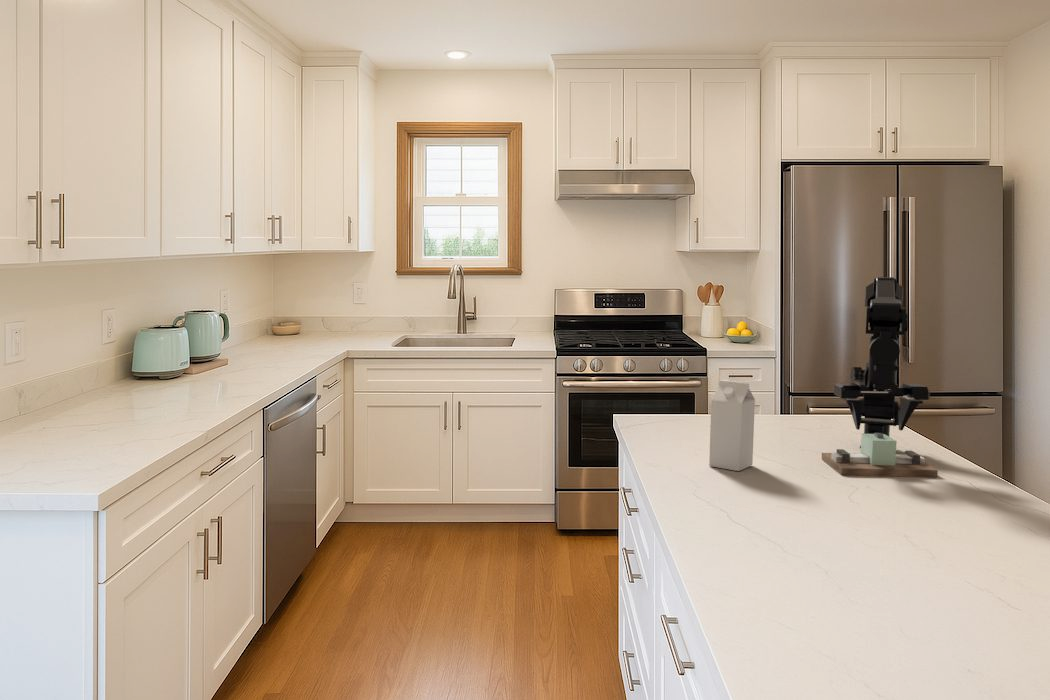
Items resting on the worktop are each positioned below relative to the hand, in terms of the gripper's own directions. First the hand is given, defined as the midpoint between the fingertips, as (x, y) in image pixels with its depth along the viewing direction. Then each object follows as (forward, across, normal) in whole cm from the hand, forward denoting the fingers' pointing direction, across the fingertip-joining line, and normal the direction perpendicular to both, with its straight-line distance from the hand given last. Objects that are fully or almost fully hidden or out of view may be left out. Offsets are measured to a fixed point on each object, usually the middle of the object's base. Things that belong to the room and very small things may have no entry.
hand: (879, 429), depth 178 cm
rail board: (+9, 0, 0) cm, 9 cm away
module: (+7, 0, 0) cm, 7 cm away
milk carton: (+9, +32, +1) cm, 33 cm away
